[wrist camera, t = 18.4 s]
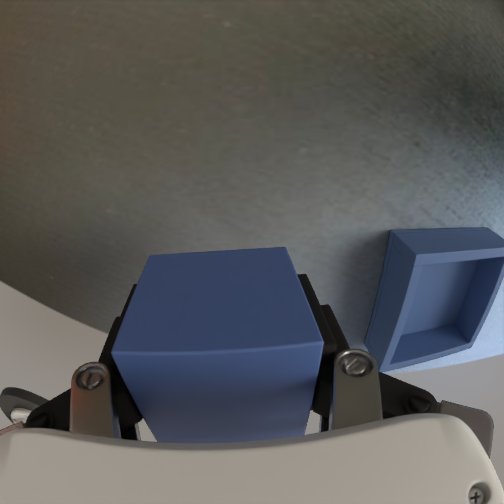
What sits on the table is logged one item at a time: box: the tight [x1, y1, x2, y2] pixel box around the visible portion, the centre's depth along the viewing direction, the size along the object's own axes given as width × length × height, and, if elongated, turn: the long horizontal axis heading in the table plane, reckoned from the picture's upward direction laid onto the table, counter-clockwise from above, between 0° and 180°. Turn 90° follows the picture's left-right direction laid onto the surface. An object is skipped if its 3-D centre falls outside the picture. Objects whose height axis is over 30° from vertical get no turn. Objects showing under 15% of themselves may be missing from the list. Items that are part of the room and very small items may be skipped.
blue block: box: [111, 247, 324, 443], centre depth 10 cm, size 5×5×5 cm
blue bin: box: [364, 228, 504, 372], centre depth 20 cm, size 11×11×4 cm
